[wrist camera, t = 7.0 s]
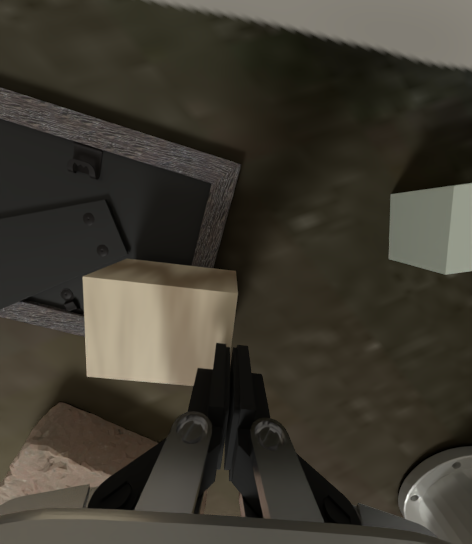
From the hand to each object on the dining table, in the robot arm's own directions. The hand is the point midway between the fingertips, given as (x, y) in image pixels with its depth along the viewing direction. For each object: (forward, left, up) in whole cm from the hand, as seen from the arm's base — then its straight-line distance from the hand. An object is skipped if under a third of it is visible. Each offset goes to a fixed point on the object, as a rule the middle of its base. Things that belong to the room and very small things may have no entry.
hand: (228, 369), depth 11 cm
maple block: (0, -1, -4) cm, 4 cm away
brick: (+9, +18, -8) cm, 22 cm away
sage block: (-14, -9, -8) cm, 18 cm away
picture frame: (+12, -5, -8) cm, 15 cm away
